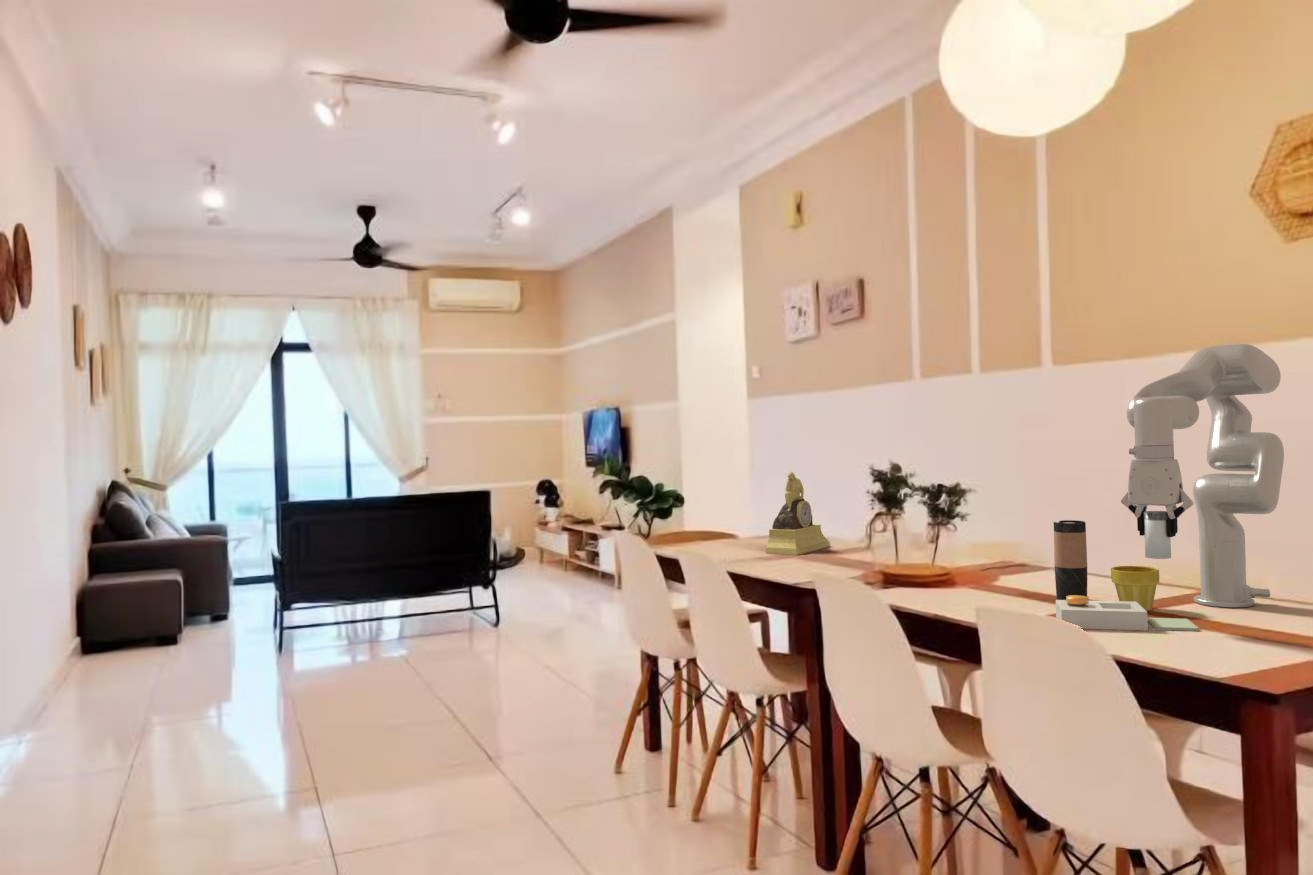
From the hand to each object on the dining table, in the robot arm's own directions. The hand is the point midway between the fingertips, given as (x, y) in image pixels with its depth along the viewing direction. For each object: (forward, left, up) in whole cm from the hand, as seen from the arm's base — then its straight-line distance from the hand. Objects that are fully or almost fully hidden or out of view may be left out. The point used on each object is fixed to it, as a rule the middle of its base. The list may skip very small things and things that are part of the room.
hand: (1157, 534), depth 202 cm
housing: (+12, 0, -20) cm, 23 cm away
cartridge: (0, 0, -5) cm, 5 cm away
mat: (-2, 0, -20) cm, 20 cm away
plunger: (+17, 0, -18) cm, 25 cm away
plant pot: (+2, -18, -20) cm, 27 cm away
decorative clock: (+99, -121, -20) cm, 158 cm away
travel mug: (+15, -28, -20) cm, 38 cm away
